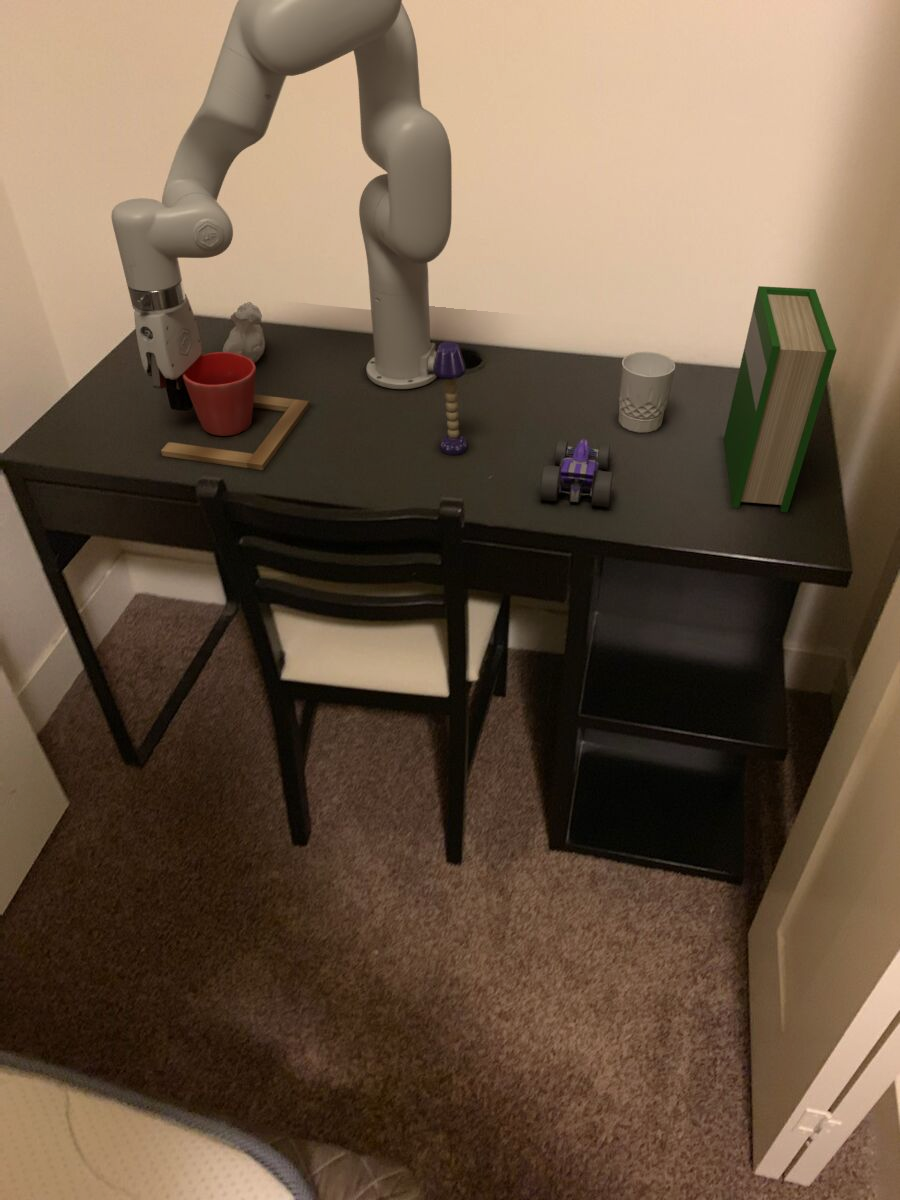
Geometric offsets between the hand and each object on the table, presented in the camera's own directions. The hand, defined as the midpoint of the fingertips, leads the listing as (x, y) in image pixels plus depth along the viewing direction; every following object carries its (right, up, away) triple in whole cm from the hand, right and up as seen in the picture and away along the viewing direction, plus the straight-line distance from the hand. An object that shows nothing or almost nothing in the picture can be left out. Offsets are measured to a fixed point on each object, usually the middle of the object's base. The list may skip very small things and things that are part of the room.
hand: (182, 407), depth 139 cm
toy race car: (+60, -13, -10) cm, 63 cm away
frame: (+9, -3, +1) cm, 9 cm away
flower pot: (+7, -2, +2) cm, 7 cm away
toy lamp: (+42, -7, -4) cm, 43 cm away
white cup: (+72, -2, +1) cm, 72 cm away
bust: (+6, +12, +18) cm, 23 cm away
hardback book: (+86, -12, -10) cm, 87 cm away
